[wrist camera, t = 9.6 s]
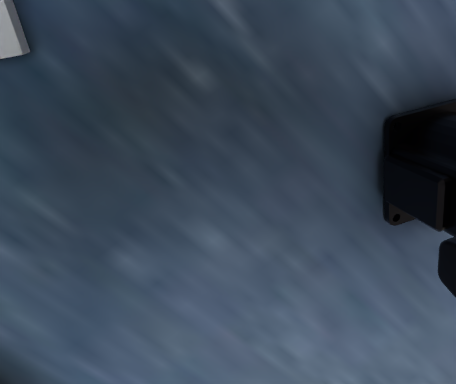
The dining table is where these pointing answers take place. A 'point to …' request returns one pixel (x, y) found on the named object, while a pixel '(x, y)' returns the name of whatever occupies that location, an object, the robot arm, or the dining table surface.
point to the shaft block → (11, 32)
